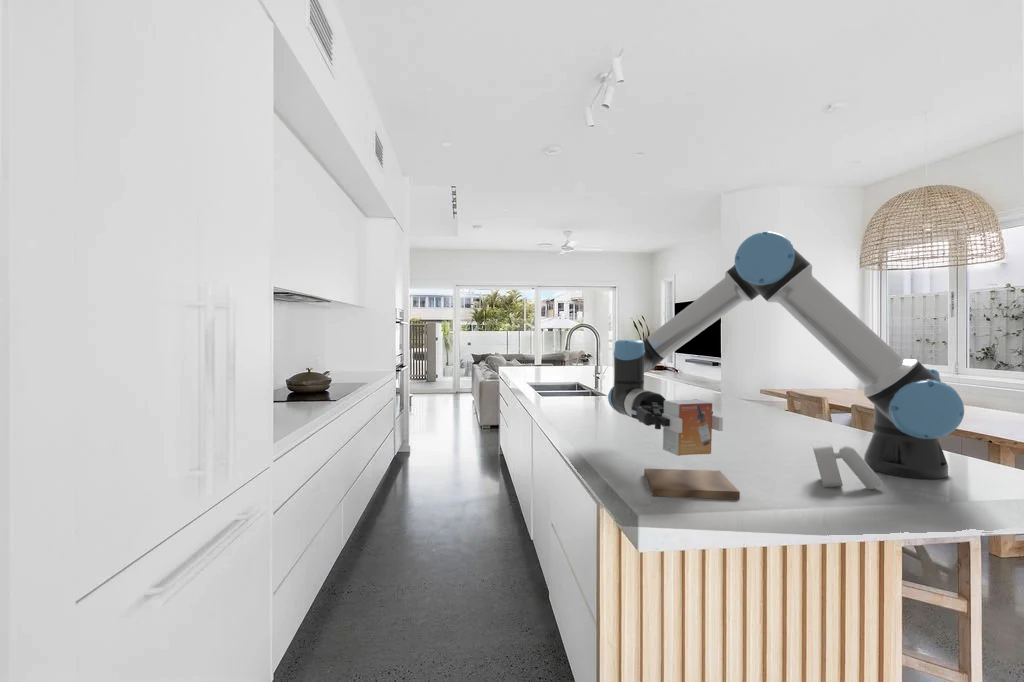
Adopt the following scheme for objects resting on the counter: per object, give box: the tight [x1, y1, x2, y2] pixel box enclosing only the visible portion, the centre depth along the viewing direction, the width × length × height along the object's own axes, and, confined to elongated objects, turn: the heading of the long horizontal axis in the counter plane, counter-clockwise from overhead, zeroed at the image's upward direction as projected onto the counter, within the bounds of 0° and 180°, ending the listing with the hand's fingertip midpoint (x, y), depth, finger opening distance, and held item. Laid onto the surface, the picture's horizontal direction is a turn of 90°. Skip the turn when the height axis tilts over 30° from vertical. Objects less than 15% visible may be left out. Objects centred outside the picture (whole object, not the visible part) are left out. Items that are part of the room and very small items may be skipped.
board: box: [643, 467, 741, 500], centre depth 105 cm, size 16×14×2 cm
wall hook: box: [811, 439, 883, 490], centre depth 105 cm, size 8×10×10 cm
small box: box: [662, 398, 713, 457], centre depth 105 cm, size 8×6×10 cm
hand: (700, 425), depth 100 cm, fingers closed on small box, 8 cm apart
